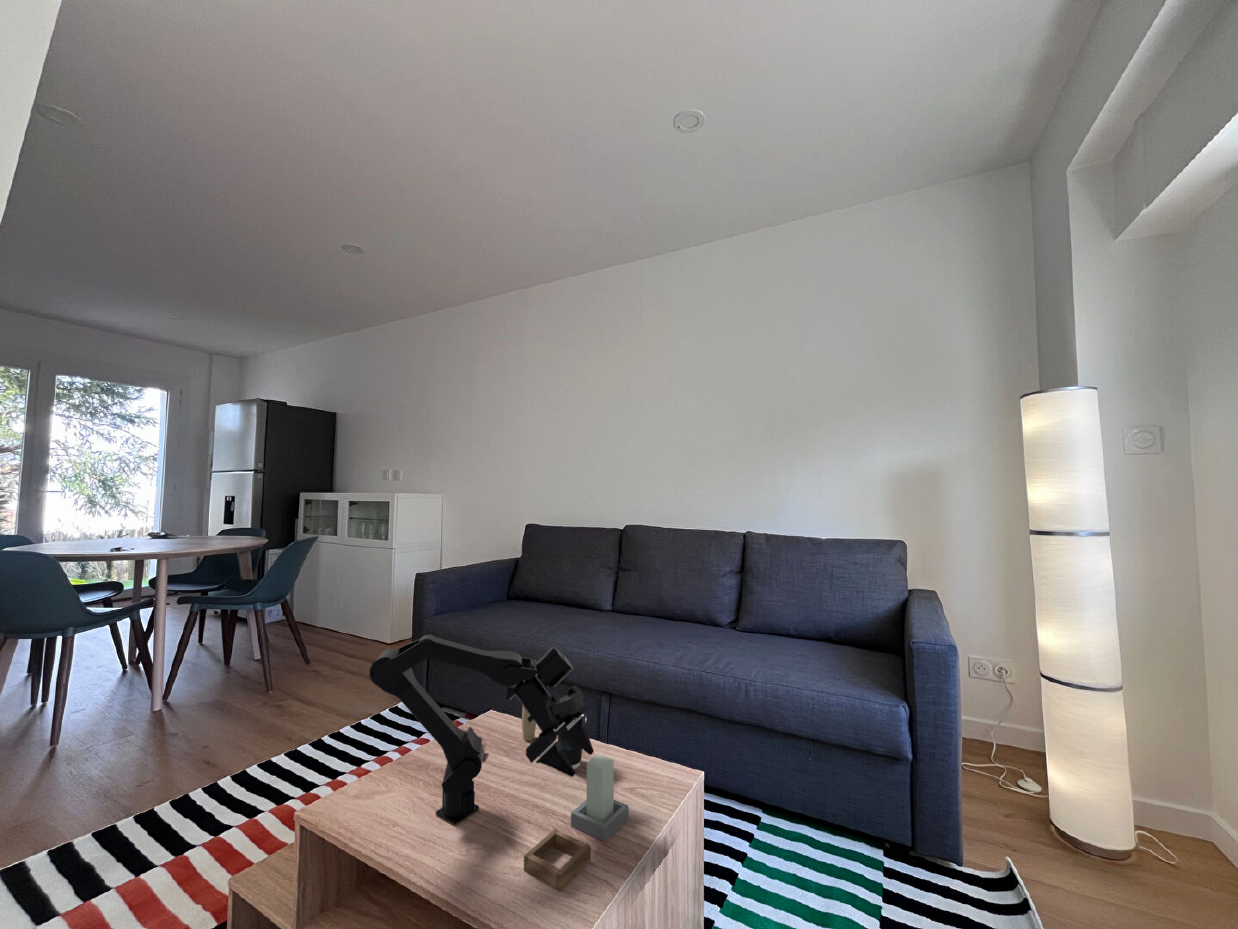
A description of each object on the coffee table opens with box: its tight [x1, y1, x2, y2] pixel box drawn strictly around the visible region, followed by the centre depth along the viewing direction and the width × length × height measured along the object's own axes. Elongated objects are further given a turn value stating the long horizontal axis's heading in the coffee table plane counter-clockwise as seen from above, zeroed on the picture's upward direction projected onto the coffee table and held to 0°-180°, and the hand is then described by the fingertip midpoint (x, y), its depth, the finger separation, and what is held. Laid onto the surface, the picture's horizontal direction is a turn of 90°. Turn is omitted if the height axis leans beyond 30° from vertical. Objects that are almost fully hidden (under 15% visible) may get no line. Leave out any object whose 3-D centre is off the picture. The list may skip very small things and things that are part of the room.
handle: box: [521, 705, 537, 742], centre depth 136 cm, size 5×6×15 cm
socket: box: [570, 799, 630, 842], centre depth 100 cm, size 8×8×2 cm
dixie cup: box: [557, 713, 587, 770], centre depth 122 cm, size 8×8×11 cm
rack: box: [523, 828, 592, 892], centre depth 88 cm, size 8×8×2 cm
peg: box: [586, 753, 615, 823], centre depth 100 cm, size 4×4×12 cm
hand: (583, 764), depth 102 cm, fingers open, 9 cm apart
